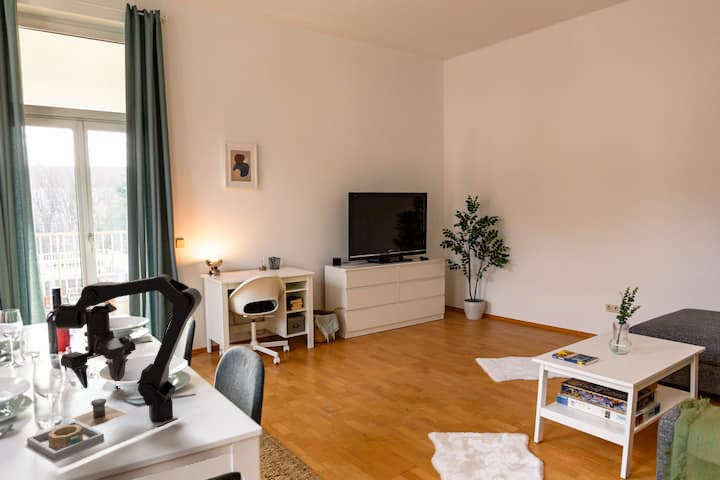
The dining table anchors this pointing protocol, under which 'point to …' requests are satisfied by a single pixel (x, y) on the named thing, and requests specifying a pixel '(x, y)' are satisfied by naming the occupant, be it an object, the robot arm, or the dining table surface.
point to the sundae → (110, 365)
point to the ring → (65, 436)
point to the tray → (54, 454)
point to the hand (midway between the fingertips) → (101, 382)
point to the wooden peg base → (98, 413)
